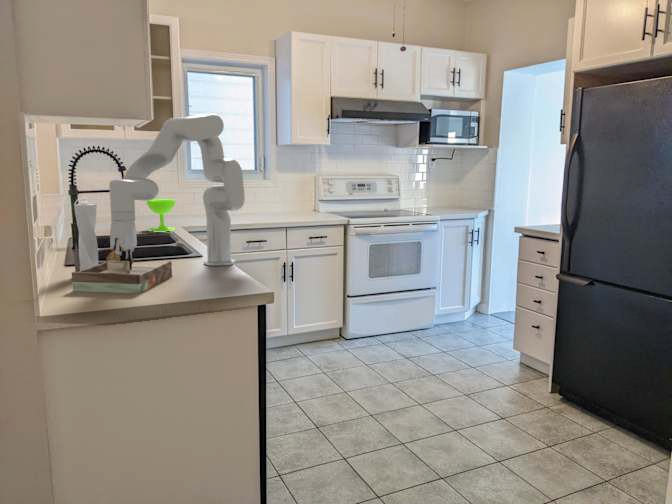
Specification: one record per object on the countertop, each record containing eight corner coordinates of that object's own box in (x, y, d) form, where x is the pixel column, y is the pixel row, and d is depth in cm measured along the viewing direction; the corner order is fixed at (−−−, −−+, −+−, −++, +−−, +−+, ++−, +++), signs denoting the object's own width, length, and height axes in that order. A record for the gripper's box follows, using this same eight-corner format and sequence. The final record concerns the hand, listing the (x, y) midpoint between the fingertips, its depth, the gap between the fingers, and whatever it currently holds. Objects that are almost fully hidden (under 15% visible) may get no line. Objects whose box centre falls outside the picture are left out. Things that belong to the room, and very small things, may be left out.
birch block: (115, 275, 179) (115, 260, 178) (130, 275, 178) (129, 260, 178) (108, 278, 174) (107, 263, 173) (122, 278, 173) (121, 263, 173)
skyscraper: (77, 272, 195) (72, 196, 191) (101, 271, 198) (97, 196, 194) (75, 277, 188) (69, 198, 183) (100, 276, 190) (95, 198, 186)
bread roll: (133, 274, 212) (141, 255, 213) (110, 266, 204) (118, 247, 205) (122, 270, 218) (129, 252, 219) (99, 263, 211) (106, 244, 212)
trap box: (113, 274, 194) (112, 258, 193) (172, 276, 192) (171, 259, 191) (72, 291, 169) (71, 272, 168) (139, 293, 167) (138, 274, 166)
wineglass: (179, 231, 311) (178, 200, 308) (151, 233, 303) (150, 201, 300) (172, 228, 325) (171, 199, 322) (145, 229, 316) (143, 199, 313)
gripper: (123, 214, 185) (126, 265, 188) (100, 218, 171) (104, 274, 174) (144, 214, 185) (146, 266, 188) (123, 219, 170) (126, 275, 173)
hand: (126, 270), depth 181 cm, fingers closed
